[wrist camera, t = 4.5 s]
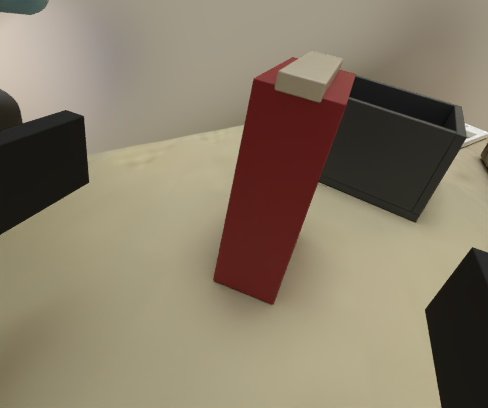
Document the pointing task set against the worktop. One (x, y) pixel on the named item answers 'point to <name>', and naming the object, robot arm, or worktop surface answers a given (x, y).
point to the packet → (279, 169)
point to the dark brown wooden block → (485, 155)
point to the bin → (393, 147)
